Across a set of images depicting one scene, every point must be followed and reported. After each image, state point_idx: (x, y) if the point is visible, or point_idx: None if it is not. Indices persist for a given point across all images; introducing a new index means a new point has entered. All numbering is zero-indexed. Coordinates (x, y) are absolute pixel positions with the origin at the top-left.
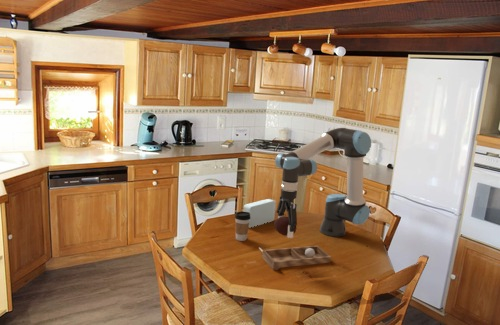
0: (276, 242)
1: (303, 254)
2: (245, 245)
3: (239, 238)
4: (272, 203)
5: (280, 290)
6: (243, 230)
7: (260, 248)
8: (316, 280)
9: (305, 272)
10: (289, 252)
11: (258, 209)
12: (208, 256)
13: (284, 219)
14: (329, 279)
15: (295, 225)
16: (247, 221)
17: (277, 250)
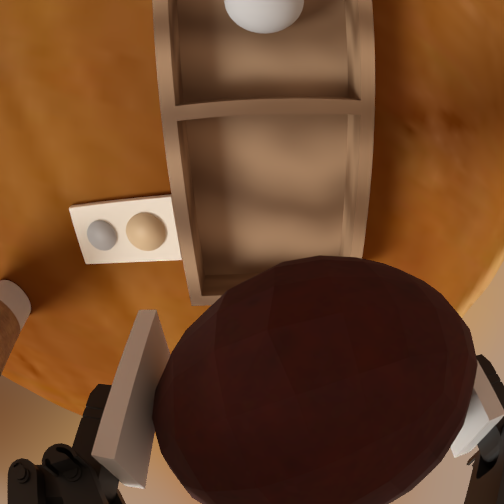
0: (12, 148)
1: (203, 26)
2: (67, 304)
3: (27, 317)
4: None
5: (477, 290)
6: (9, 336)
7: (98, 261)
8: (487, 118)
9: (415, 121)
10: (183, 123)
11: None
12: None
13: None
14: (492, 54)
15: (472, 364)
16: None
17: (189, 219)
